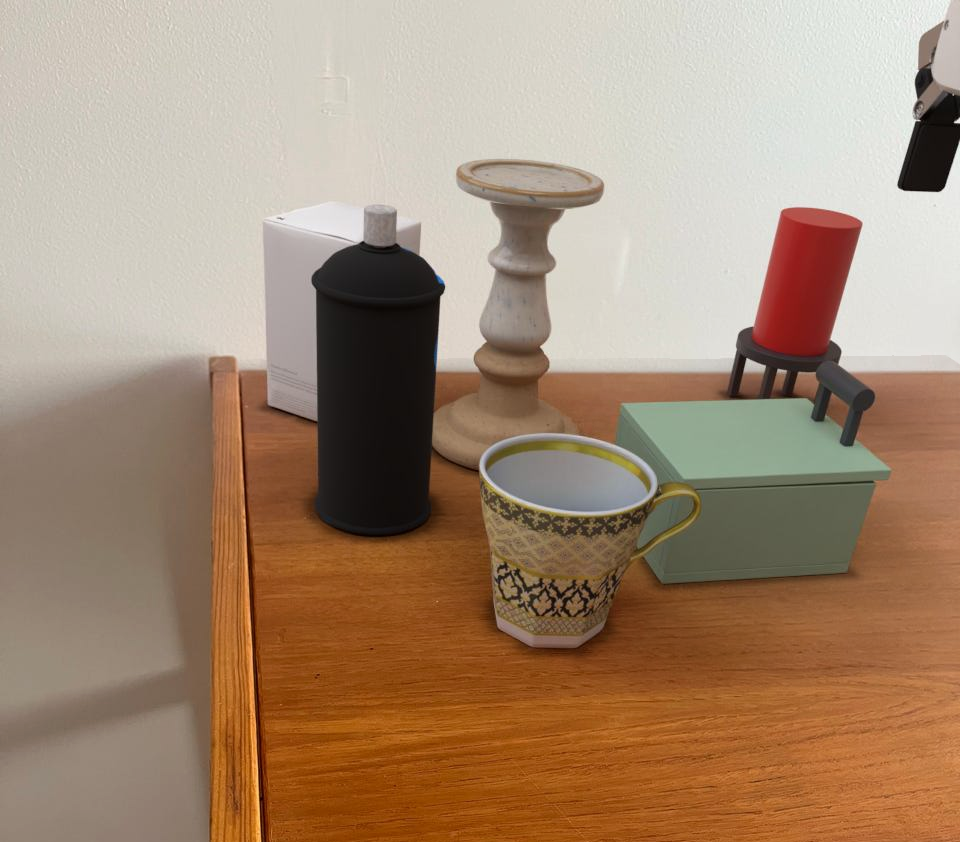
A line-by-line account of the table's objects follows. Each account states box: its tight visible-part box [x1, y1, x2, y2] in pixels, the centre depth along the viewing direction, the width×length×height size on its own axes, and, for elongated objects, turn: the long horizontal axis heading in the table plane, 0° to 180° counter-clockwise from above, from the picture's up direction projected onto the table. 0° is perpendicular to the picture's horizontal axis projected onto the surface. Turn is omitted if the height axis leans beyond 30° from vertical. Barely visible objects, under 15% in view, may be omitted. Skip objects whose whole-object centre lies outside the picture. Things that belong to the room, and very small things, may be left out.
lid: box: [619, 361, 892, 489], centre depth 68 cm, size 14×12×5 cm
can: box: [752, 206, 863, 356], centre depth 88 cm, size 7×7×10 cm
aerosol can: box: [311, 204, 446, 537], centre depth 67 cm, size 8×8×20 cm
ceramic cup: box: [478, 433, 701, 649], centre depth 60 cm, size 13×10×10 cm
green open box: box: [613, 413, 877, 585], centre depth 71 cm, size 14×12×7 cm
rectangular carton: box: [262, 200, 422, 422], centre depth 82 cm, size 9×9×15 cm
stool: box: [726, 325, 843, 404], centre depth 92 cm, size 9×9×6 cm
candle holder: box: [432, 158, 605, 471], centre depth 77 cm, size 12×12×20 cm
